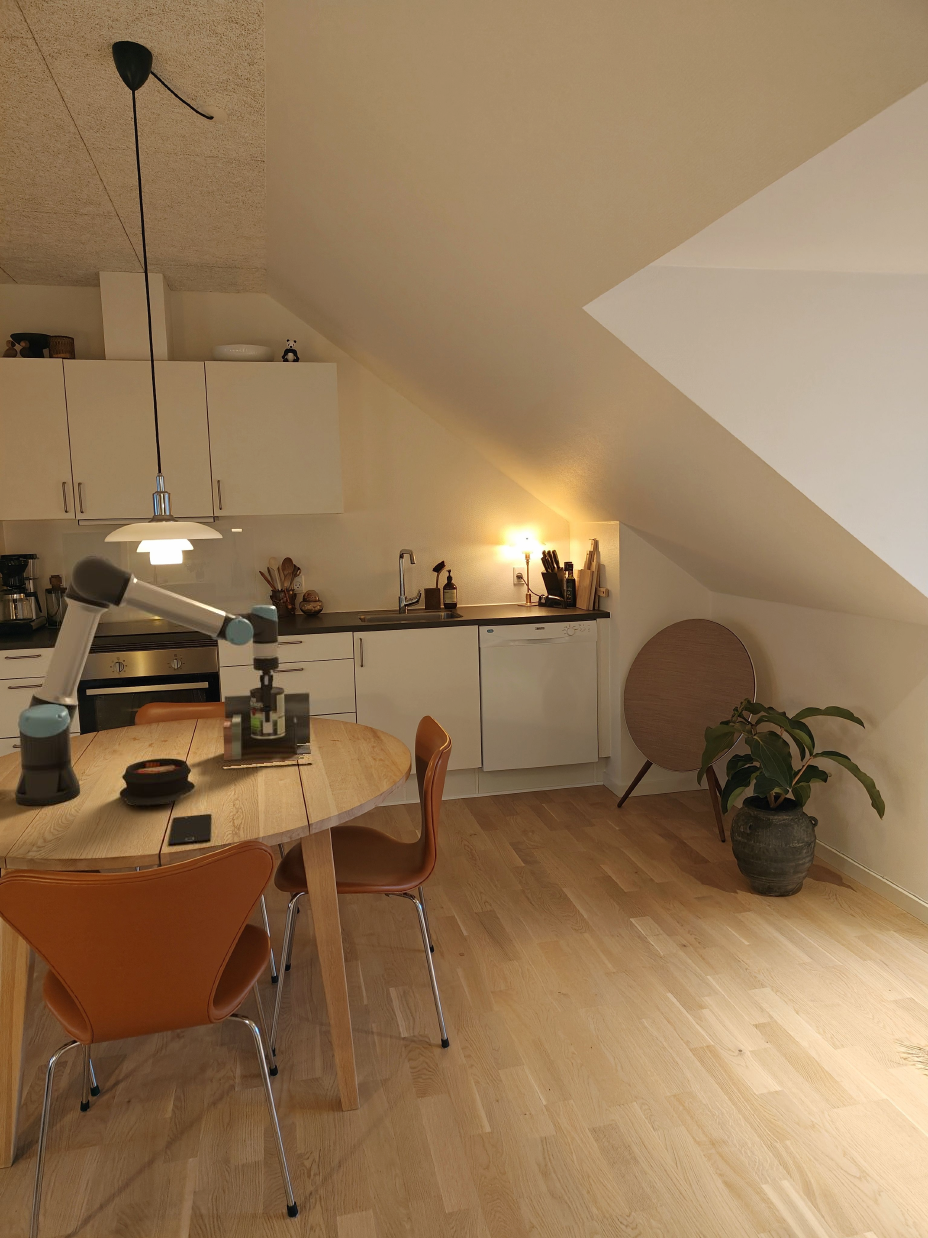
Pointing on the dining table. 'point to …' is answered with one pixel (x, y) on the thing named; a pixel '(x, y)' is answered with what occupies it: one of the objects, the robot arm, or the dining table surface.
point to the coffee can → (277, 713)
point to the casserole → (156, 781)
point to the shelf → (261, 751)
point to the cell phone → (190, 830)
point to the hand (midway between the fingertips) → (268, 728)
